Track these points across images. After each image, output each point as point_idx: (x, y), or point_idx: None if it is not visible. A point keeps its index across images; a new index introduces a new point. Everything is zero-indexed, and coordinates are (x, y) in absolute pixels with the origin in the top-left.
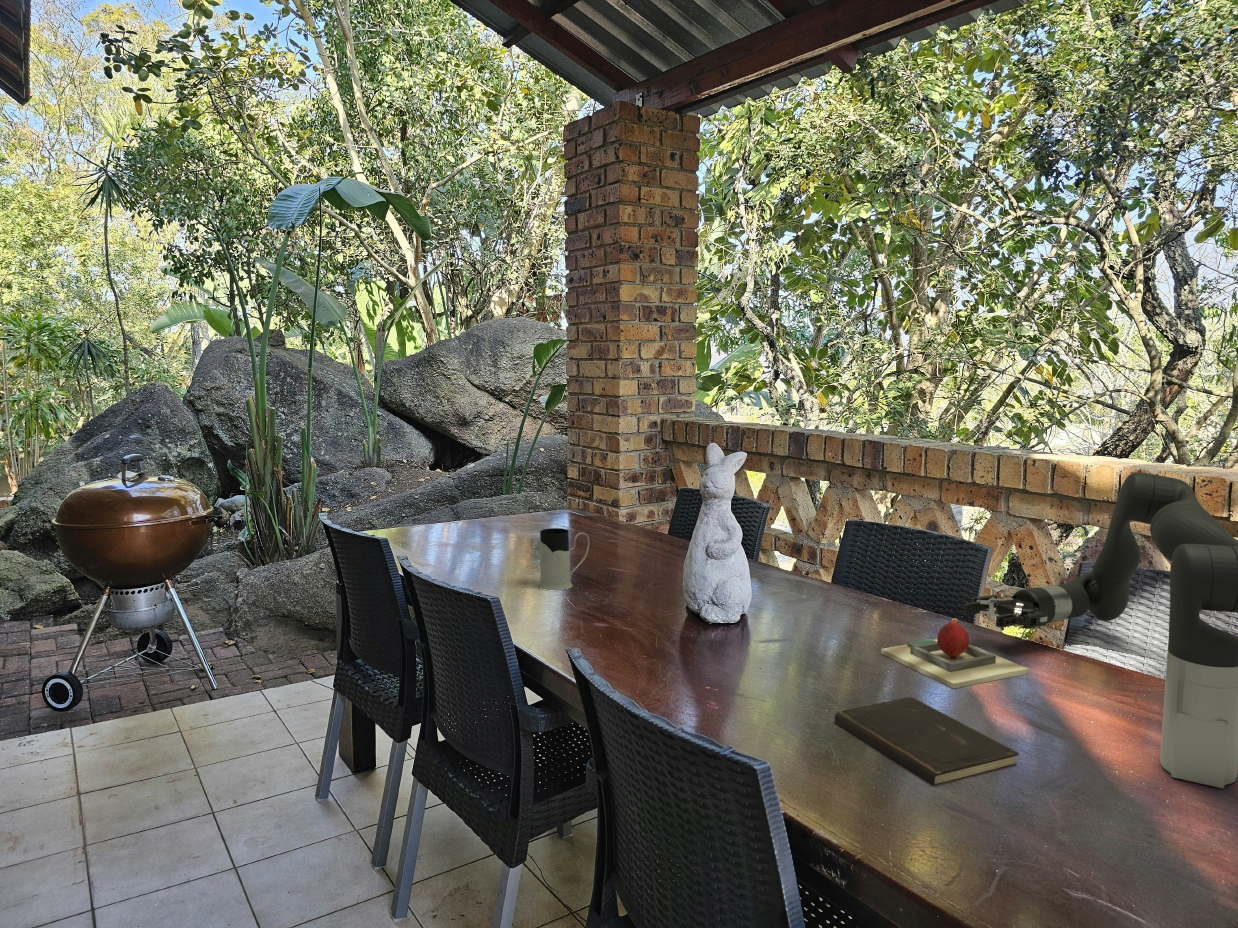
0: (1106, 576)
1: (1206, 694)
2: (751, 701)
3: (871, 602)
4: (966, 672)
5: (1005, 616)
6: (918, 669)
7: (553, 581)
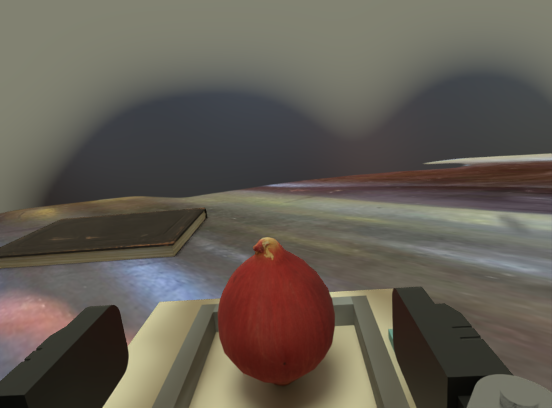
0: None
1: None
2: (290, 199)
3: None
4: (173, 349)
5: (59, 338)
6: None
7: None
